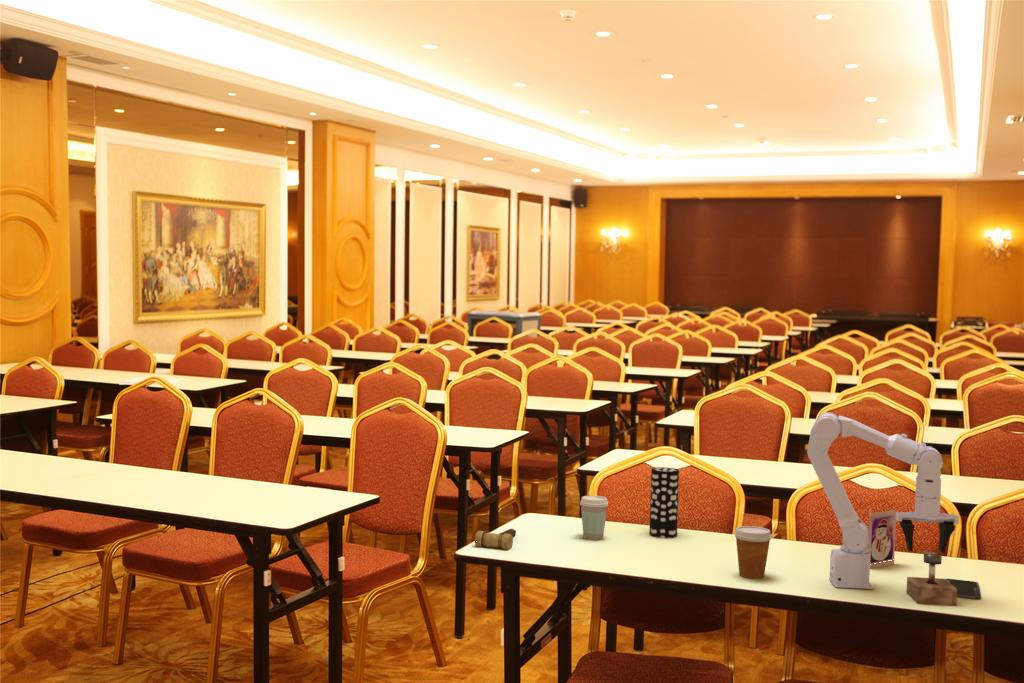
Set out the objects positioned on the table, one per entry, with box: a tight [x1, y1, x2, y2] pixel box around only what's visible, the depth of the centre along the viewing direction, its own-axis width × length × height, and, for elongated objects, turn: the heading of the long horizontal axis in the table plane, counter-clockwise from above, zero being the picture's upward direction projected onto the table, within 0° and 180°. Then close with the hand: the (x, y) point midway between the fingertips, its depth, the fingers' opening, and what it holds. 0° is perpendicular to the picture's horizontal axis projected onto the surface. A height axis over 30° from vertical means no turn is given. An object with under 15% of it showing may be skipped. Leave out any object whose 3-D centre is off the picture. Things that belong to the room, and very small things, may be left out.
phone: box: [945, 578, 982, 601], centre depth 254 cm, size 8×1×15 cm
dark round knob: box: [923, 551, 943, 584], centre depth 245 cm, size 4×4×7 cm
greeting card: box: [868, 509, 897, 569], centre depth 278 cm, size 11×7×15 cm, turn 123°
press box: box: [906, 576, 958, 606], centre depth 245 cm, size 9×9×4 cm
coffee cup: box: [579, 494, 609, 541], centre depth 301 cm, size 8×8×12 cm
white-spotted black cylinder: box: [649, 466, 680, 539], centre depth 307 cm, size 8×8×20 cm
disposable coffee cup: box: [733, 525, 773, 579], centre depth 263 cm, size 10×10×12 cm
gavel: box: [474, 528, 517, 551], centre depth 294 cm, size 21×5×10 cm
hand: (925, 550), depth 251 cm, fingers open, 7 cm apart
